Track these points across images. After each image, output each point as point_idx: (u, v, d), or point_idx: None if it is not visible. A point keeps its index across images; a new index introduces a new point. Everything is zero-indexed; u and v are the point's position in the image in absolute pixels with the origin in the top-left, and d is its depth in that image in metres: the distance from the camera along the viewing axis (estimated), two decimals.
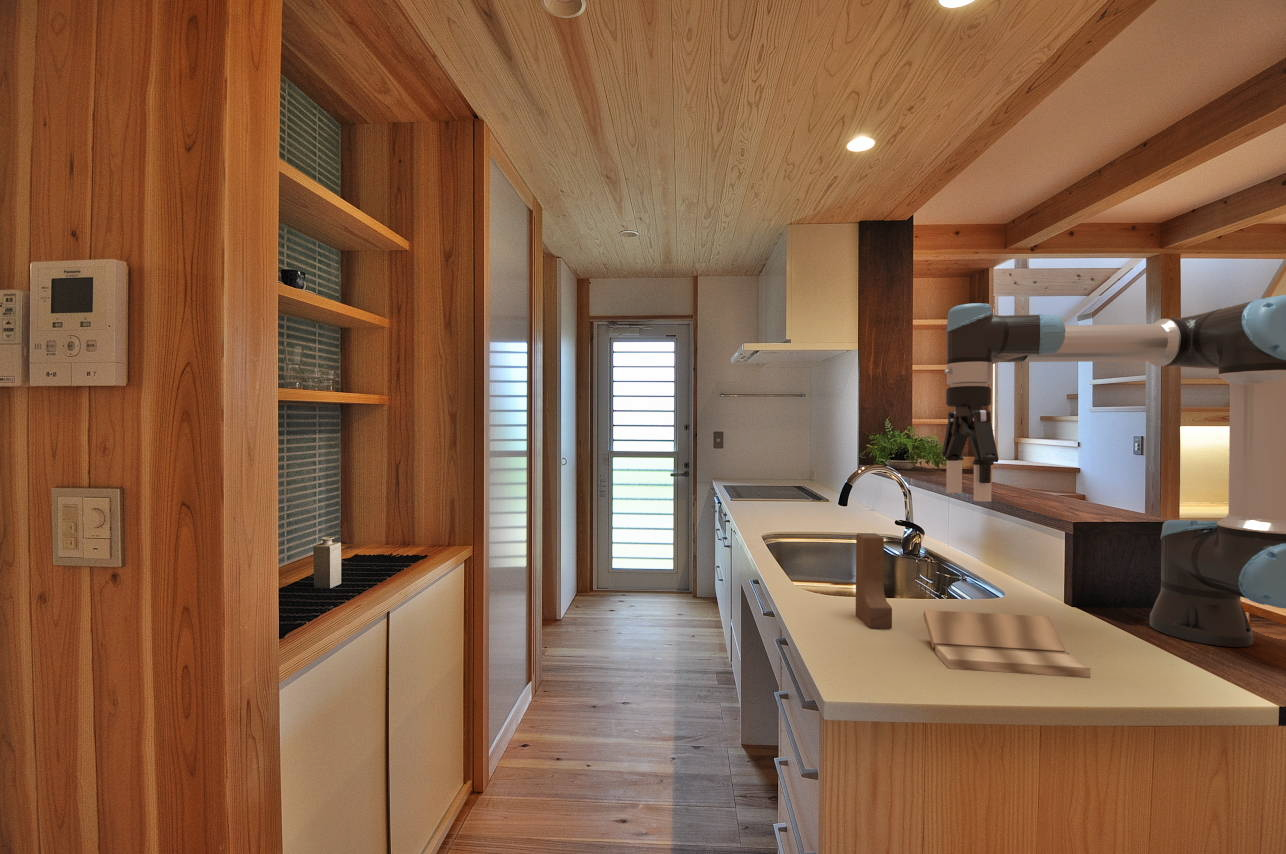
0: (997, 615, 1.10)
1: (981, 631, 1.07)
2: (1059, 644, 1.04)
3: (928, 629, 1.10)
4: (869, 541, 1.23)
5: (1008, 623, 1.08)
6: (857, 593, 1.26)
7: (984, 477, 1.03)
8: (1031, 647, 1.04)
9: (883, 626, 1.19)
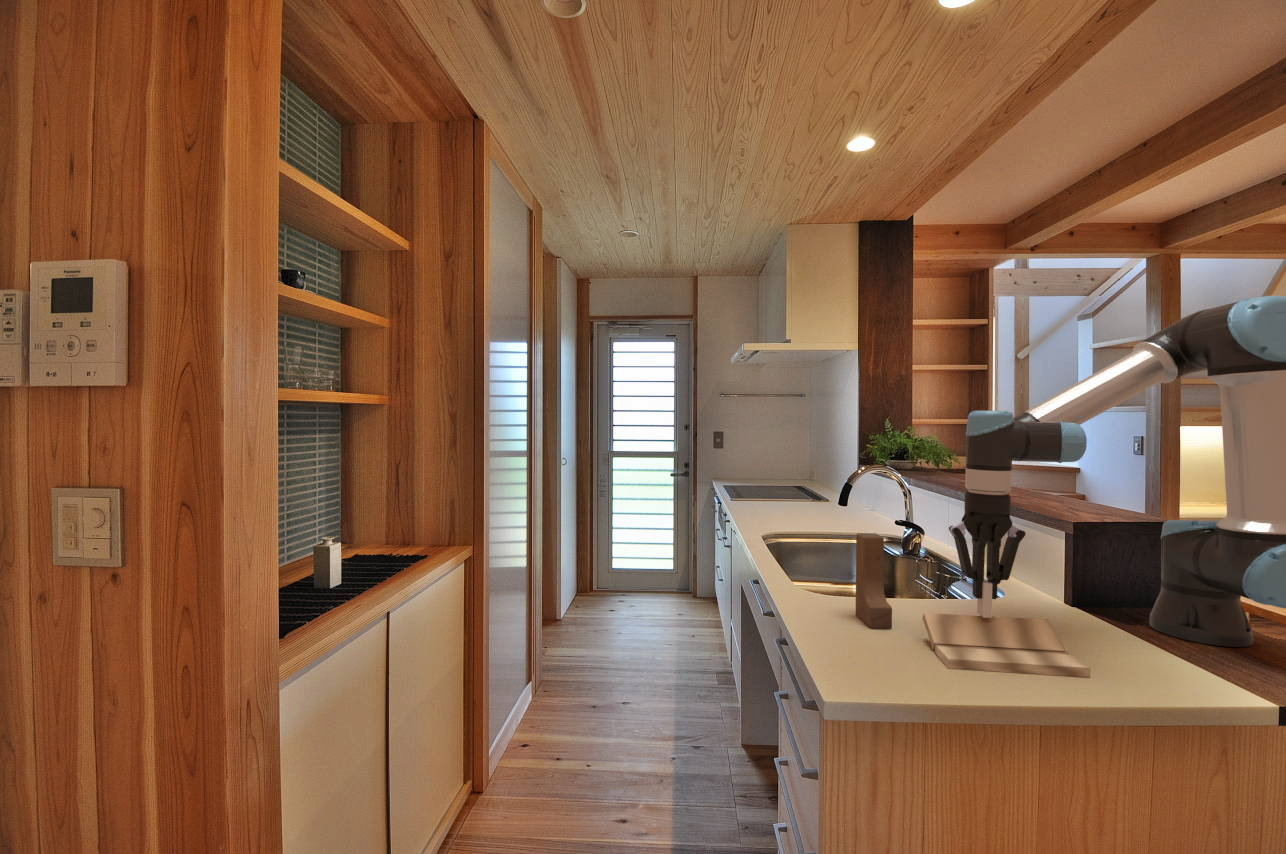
0: (995, 618, 1.10)
1: (980, 632, 1.08)
2: (1059, 644, 1.04)
3: (928, 631, 1.10)
4: (869, 541, 1.23)
5: (1007, 625, 1.09)
6: (857, 593, 1.26)
7: (973, 591, 1.11)
8: (1031, 647, 1.04)
9: (883, 626, 1.19)
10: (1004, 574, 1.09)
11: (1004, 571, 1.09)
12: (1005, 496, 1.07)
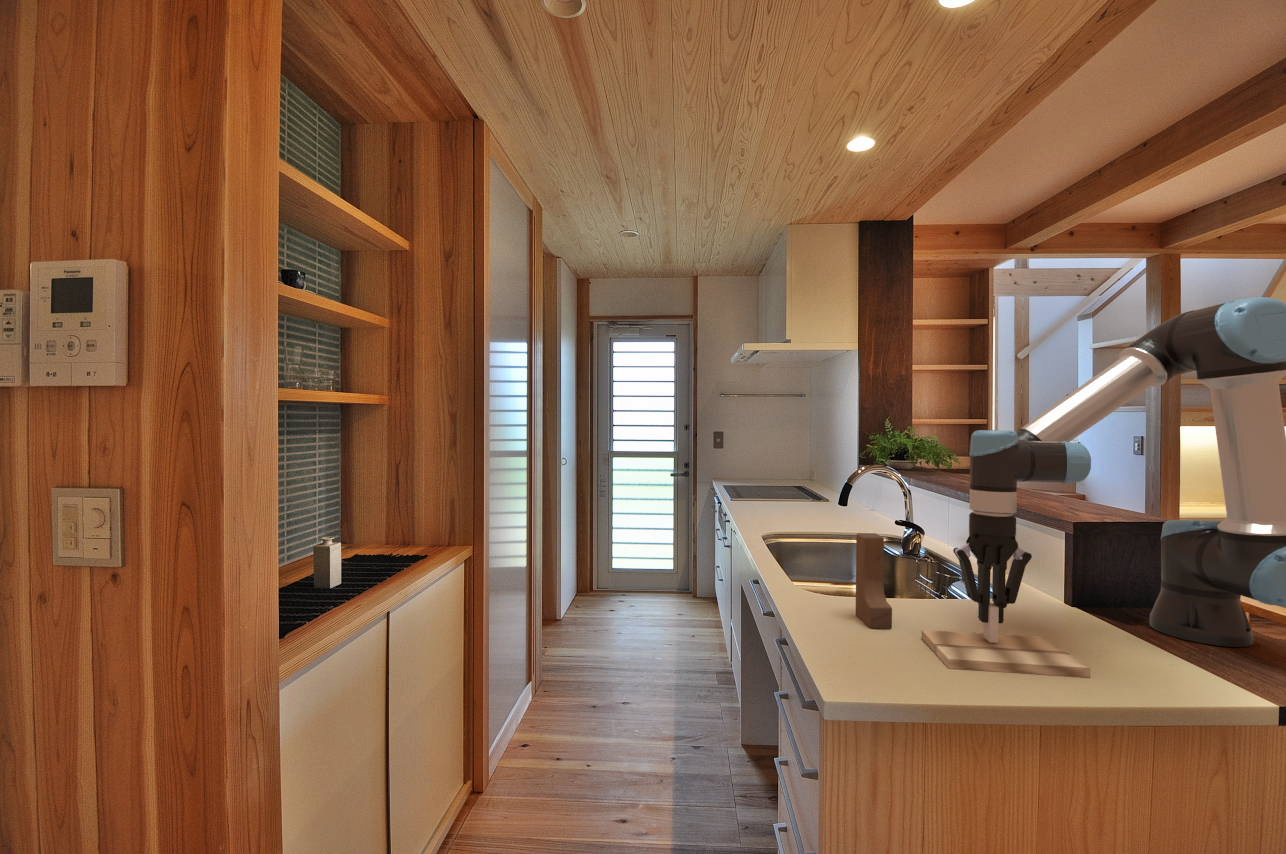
0: None
1: (979, 640, 1.08)
2: (1058, 648, 1.05)
3: (927, 641, 1.10)
4: (869, 541, 1.23)
5: (1005, 638, 1.09)
6: (857, 593, 1.26)
7: (979, 615, 1.09)
8: (1031, 649, 1.04)
9: (883, 626, 1.19)
10: (1010, 597, 1.06)
11: (1010, 594, 1.06)
12: (1011, 517, 1.05)
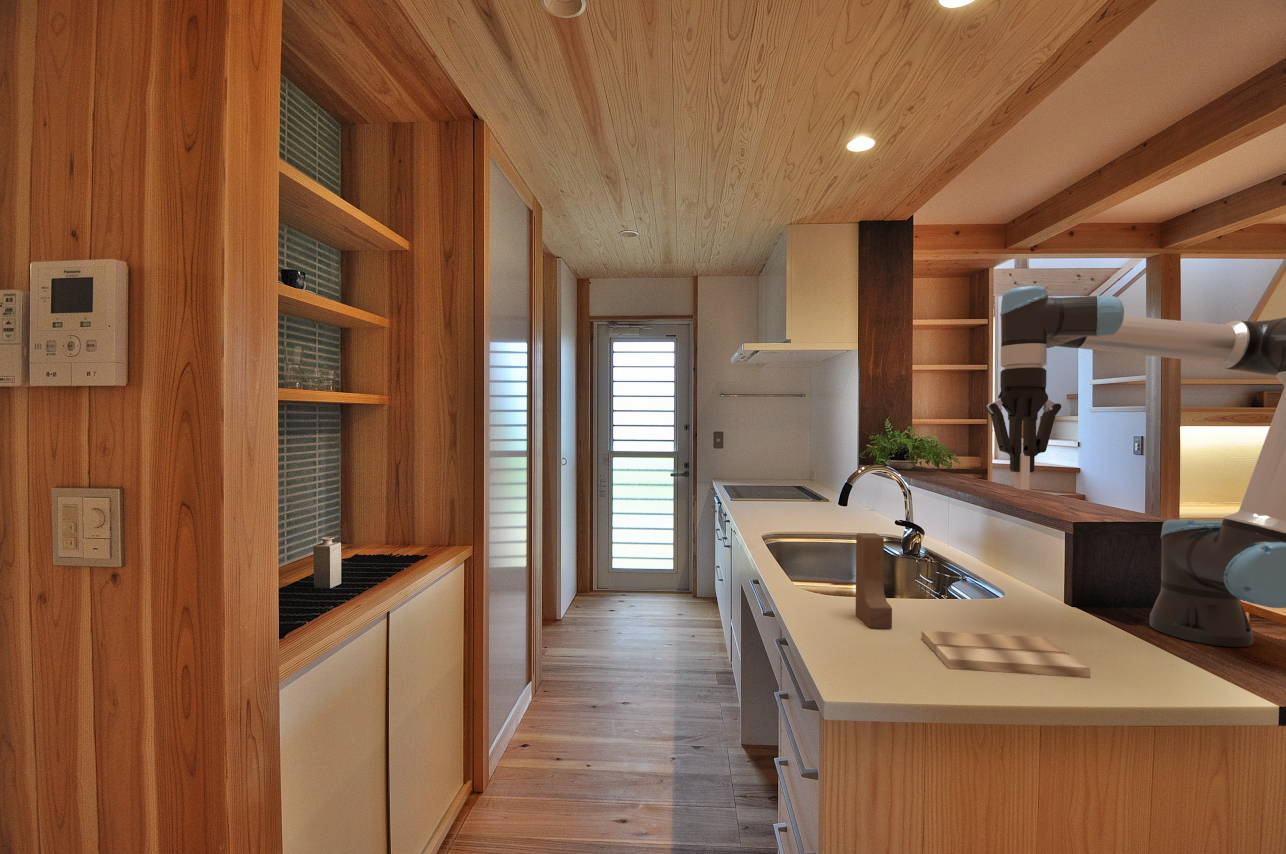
0: (993, 635, 1.11)
1: (979, 641, 1.08)
2: (1058, 648, 1.05)
3: (927, 641, 1.10)
4: (869, 541, 1.23)
5: (1005, 638, 1.09)
6: (857, 593, 1.26)
7: (1010, 466, 1.14)
8: (1031, 649, 1.04)
9: (883, 626, 1.19)
10: (1041, 447, 1.12)
11: (1041, 444, 1.12)
12: (1042, 368, 1.10)
